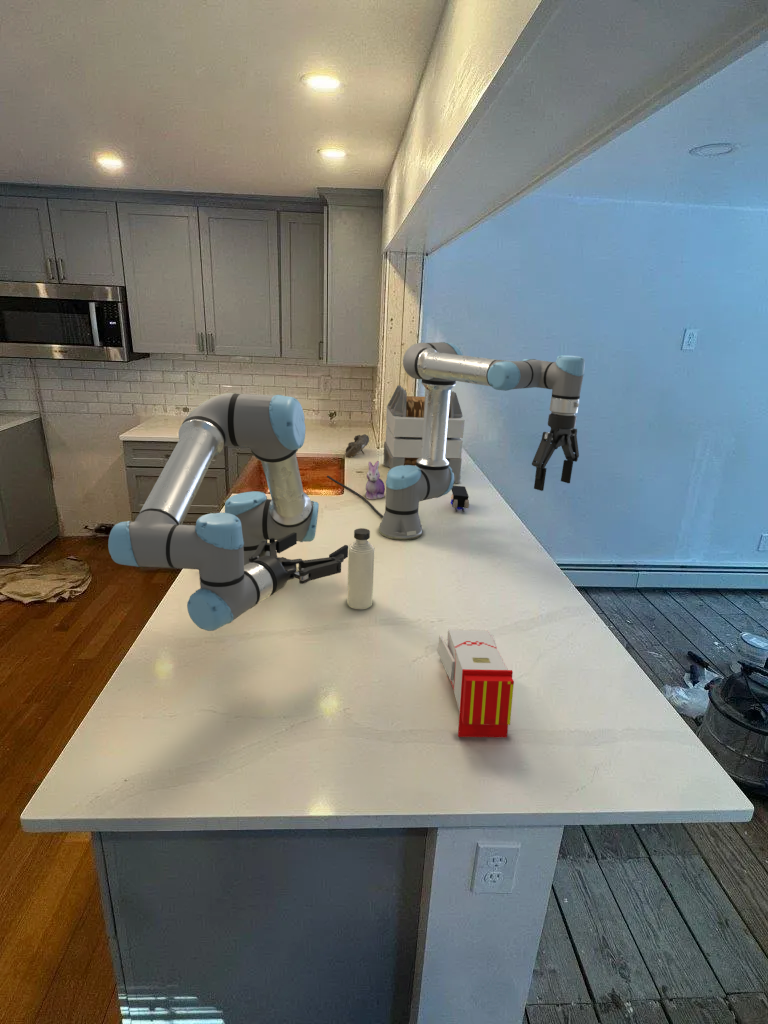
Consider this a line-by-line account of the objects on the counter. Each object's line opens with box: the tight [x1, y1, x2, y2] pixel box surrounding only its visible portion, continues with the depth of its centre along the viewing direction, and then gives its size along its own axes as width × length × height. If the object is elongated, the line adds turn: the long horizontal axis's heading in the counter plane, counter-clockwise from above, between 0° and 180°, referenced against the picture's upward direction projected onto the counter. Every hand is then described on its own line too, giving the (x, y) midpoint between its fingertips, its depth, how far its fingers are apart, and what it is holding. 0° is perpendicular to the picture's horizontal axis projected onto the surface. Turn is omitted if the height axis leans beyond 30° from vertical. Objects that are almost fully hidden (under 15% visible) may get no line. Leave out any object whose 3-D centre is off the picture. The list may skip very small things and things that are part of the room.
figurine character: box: [450, 485, 470, 513], centre depth 227 cm, size 7×8×15 cm
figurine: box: [364, 460, 386, 500], centre depth 235 cm, size 9×10×15 cm
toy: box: [437, 628, 515, 738], centre depth 117 cm, size 12×13×30 cm
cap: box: [353, 527, 371, 541], centre depth 145 cm, size 4×4×2 cm
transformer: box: [383, 384, 465, 484], centre depth 268 cm, size 34×33×41 cm
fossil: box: [344, 433, 370, 458], centre depth 304 cm, size 22×10×15 cm
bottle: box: [346, 539, 375, 610], centre depth 149 cm, size 7×7×20 cm
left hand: (320, 544), depth 127 cm, fingers open, 13 cm apart
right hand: (552, 485), depth 166 cm, fingers open, 13 cm apart
